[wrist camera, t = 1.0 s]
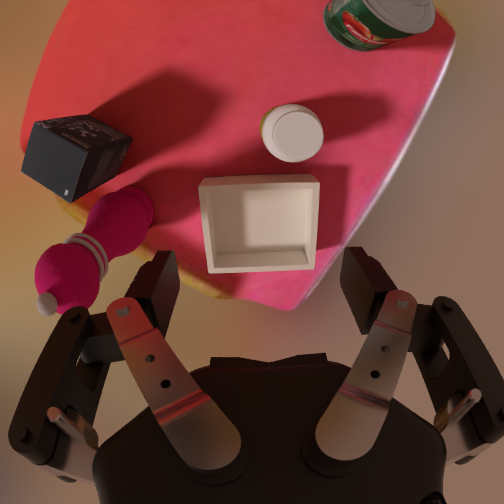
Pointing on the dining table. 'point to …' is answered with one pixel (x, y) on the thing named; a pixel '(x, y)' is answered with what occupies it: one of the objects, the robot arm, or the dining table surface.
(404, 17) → the canned tomato
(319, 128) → the supplement bottle
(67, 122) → the box
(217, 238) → the tub
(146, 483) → the robot arm
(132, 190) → the pepper mill
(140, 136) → the dining table surface
